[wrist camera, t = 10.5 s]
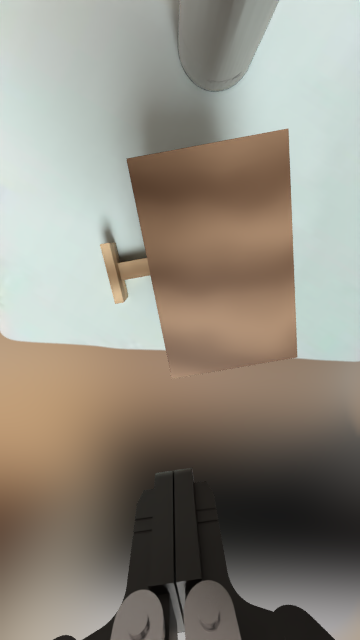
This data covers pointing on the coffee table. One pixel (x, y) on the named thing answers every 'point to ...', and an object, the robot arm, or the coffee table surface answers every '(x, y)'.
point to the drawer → (122, 270)
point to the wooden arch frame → (220, 251)
